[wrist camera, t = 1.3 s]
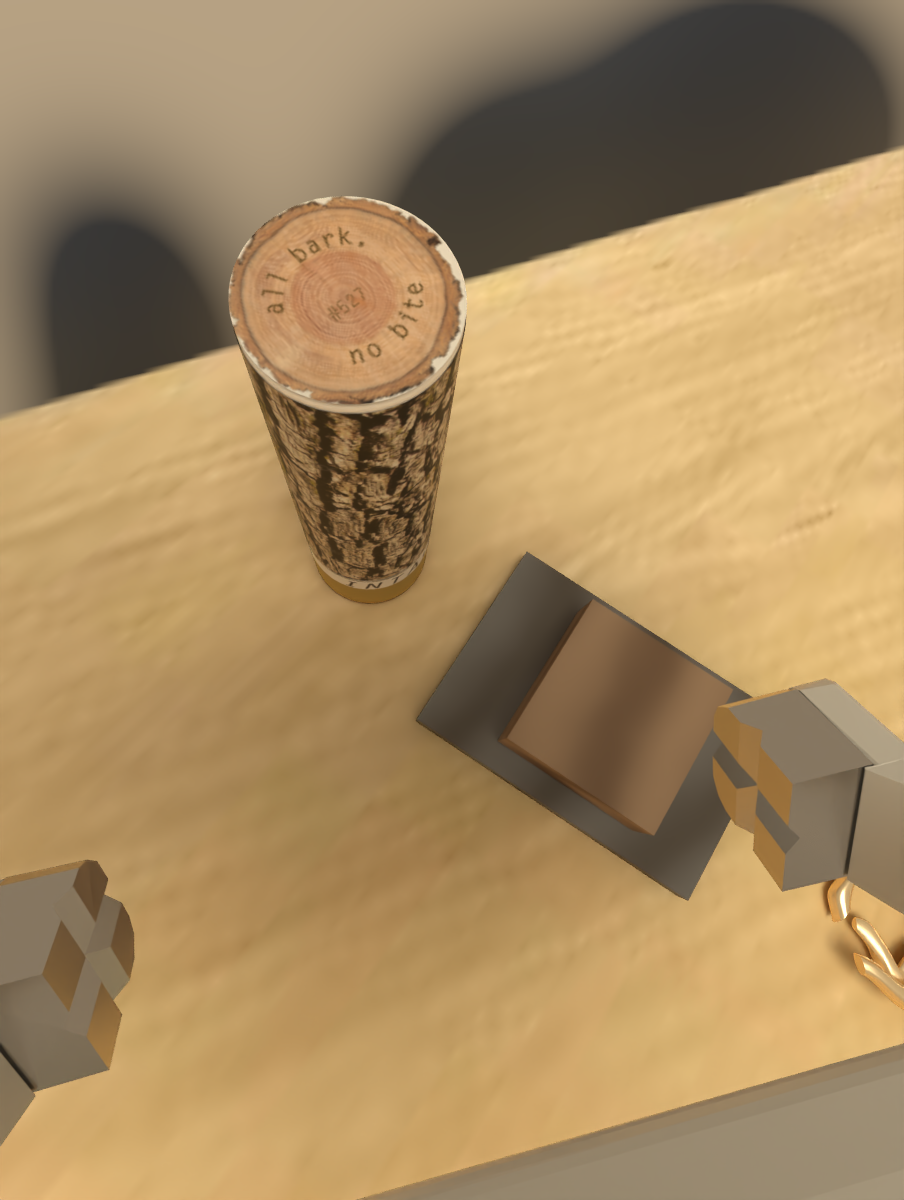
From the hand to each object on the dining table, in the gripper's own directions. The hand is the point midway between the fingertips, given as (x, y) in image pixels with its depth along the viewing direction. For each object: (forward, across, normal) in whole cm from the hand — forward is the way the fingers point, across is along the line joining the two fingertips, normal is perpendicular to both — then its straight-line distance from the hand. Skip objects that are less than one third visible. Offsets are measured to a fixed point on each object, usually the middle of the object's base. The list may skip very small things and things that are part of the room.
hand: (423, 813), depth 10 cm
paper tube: (+34, 0, +12) cm, 37 cm away
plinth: (+26, -10, +22) cm, 36 cm away
